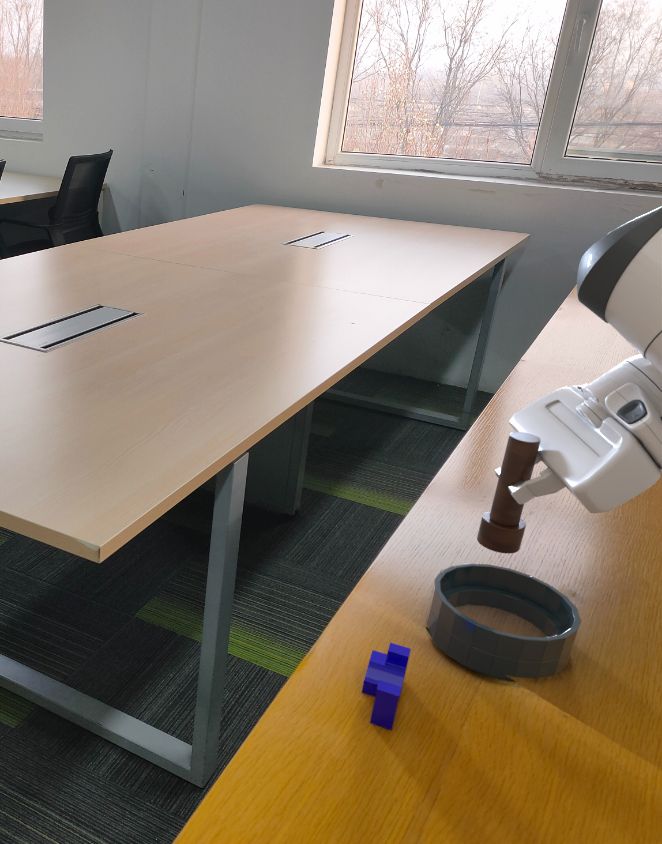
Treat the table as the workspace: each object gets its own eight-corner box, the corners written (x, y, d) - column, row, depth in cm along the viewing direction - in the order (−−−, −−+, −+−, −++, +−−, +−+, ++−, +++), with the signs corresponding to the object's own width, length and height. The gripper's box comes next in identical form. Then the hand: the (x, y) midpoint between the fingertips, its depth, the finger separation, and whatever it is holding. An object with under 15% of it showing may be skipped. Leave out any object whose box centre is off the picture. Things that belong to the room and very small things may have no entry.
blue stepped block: (368, 669, 84) (375, 637, 82) (403, 680, 82) (410, 648, 81) (353, 717, 77) (360, 683, 75) (391, 730, 75) (399, 696, 74)
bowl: (591, 659, 86) (607, 612, 84) (518, 707, 79) (533, 657, 77) (472, 594, 97) (483, 551, 95) (398, 631, 90) (407, 585, 88)
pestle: (527, 547, 89) (556, 440, 84) (505, 557, 87) (533, 448, 82) (491, 530, 93) (517, 426, 88) (468, 539, 90) (493, 433, 85)
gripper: (568, 360, 92) (462, 432, 96) (660, 426, 73) (522, 511, 77) (599, 400, 93) (492, 469, 97) (697, 474, 74) (559, 555, 79)
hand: (506, 488), depth 87 cm, fingers closed on pestle, 3 cm apart
